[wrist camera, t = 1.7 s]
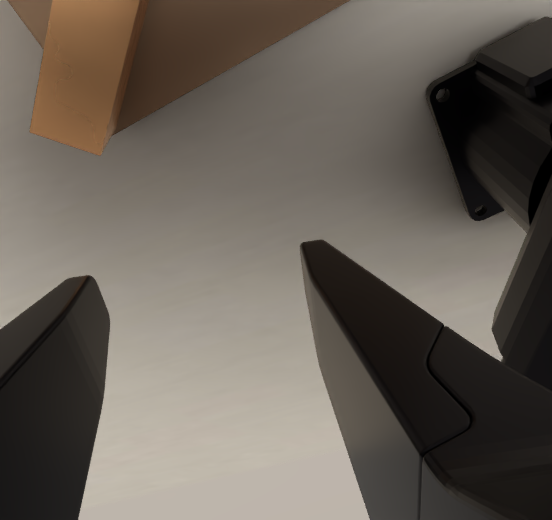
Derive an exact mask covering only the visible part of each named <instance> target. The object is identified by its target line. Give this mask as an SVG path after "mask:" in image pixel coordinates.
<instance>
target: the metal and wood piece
mask: <svg viewBox="0 0 552 520" xmlns="http://www.w3.org/2000/svg"><path fill="white" fill-rule="evenodd" d="M148 3H149V0H52V6H51V11H50V17H49V23H48V29H47V34H46V40H45V46H44V52H43V57H42V63H41V69H40V74H39V80H38V86H37V92H36V97H35V103H34V109H33V115H32V120H31V126H30V133H33V134H36V135H39V136H42V137H45V138H48V139H51V140H54V141H57V142H60V143H63V144H66V145H69V146H72V147H75V148H78V149H81V150H84V151H87V152H90V153H93V154H96V155H99V156H101V154H102V152H103V150H104V148H105V147H106V145H107V143H108V141H109V139H110V137H111V136H112V134H113V132H114V130H115V128H116V126H117V122H118V118H119V114H120V110H121V106H122V102H123V99H124V95H125V91H126V87H127V83H128V79H129V76H130V72H131V68H132V64H133V60H134V56H135V53H136V49H137V45H138V41H139V37H140V33H141V29H142V26H143V22H144V18H145V14H146V10H147V6H148Z"/></svg>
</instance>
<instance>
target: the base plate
mask: <svg viewBox="0 0 552 520" xmlns="http://www.w3.org/2000/svg"><path fill="white" fill-rule="evenodd" d="M7 1H8V2H9V3H10V5H11V6H12V7H13V9H14V10H15V11H16V13H17V14H18V15H19V17H20V18H21V20H22V21H23V22H24V24H25V25H26V26H27V28H28V29H29V30H30V32H31V33H32V35H33V36H34V37H35V39H36V40H37V41H38V43H39V44H40V45H41V47H42V48H43V49H44V46H45V40H46V34H47V29H48V23H49V17H50V11H51V6H52V0H7ZM348 1H349V0H149V3H148V6H147V10H146V14H145V18H144V22H143V26H142V29H141V33H140V37H139V41H138V45H137V49H136V53H135V56H134V60H133V64H132V68H131V72H130V76H129V79H128V83H127V87H126V91H125V95H124V99H123V102H122V106H121V110H120V114H119V118H118V122H117V126H116V128H115V130H114V132H113V134H112V135H114V134H116V133H118V132H119V131H121V130H123V129H125V128H126V127H128V126H130V125H132V124H133V123H135V122H137V121H139V120H141V119H142V118H144V117H146V116H148V115H149V114H151V113H153V112H155V111H156V110H158V109H160V108H162V107H163V106H165V105H167V104H169V103H170V102H172V101H174V100H176V99H177V98H179V97H181V96H183V95H184V94H186V93H188V92H190V91H191V90H193V89H195V88H197V87H198V86H200V85H202V84H204V83H205V82H207V81H209V80H211V79H213V78H214V77H216V76H218V75H220V74H221V73H223V72H225V71H227V70H228V69H230V68H232V67H234V66H235V65H237V64H239V63H241V62H242V61H244V60H246V59H248V58H249V57H251V56H253V55H255V54H256V53H258V52H260V51H262V50H263V49H265V48H267V47H269V46H270V45H272V44H274V43H276V42H277V41H279V40H281V39H283V38H285V37H286V36H288V35H290V34H292V33H293V32H295V31H297V30H299V29H300V28H302V27H304V26H306V25H307V24H309V23H311V22H313V21H314V20H316V19H318V18H320V17H321V16H323V15H325V14H327V13H328V12H330V11H332V10H334V9H335V8H337V7H339V6H341V5H342V4H344V3H346V2H348Z"/></svg>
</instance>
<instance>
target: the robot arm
mask: <svg viewBox="0 0 552 520" xmlns="http://www.w3.org/2000/svg"><path fill="white" fill-rule="evenodd" d="M444 88H445V89H446V94H445V96H444V97H443V98H442V99H438V100H437V99H436V95H437V93H438V91H439V90H441V89H444ZM426 97H427V101H428V104H429V107H430V110H431V113H432V115H433V118H434V121H435V124H436V127H437V130H438V133H439V135H440V138H441V141H442V144H443V147H444V150H445V153H446V155H447V158H448V161H449V164H450V167H451V170H452V173H453V175H454V178H455V181H456V184H457V187H458V190H459V193H460V195H461V198H462V201H463V204H464V207H465V210H466V212H467V214H468V215H469V216H470V217H471V218H472V219H473V220H475V221H481V220H484V219H486V218H489V217H491V216H493V215H495V214H497V213H500V212H502V211H504V210H505V211H506V212H507V213H508V214H509V215H510V216H511V217H512V218H513V219H514V220H515V221H516V222H517V223H518V224H519V225H520V226H521V227H522V228H523V229H524V230H525V231H526V232H527V235H526V238H525V240H524V242H523V245H522V247H521V250H520V252H519V254H518V257H517V259H516V262H515V264H514V266H513V269H512V271H511V274H510V276H509V278H508V281H507V283H506V286H505V288H504V291H503V293H502V295H501V298H500V300H499V303H498V305H497V307H496V310H495V313H494V319H493V325H492V332H493V334H494V337H495V340H496V342H497V345H498V348H499V351H500V353H501V354H502V356H503V358H502V360H501V362H500V361H499V360H497V359H495V358H494V357H492V356H490V355H489V354H487V353H486V352H484V351H483V350H481V349H480V348H478V347H477V346H475V345H474V344H472V343H471V342H469V341H467V340H466V339H464V338H463V337H462V336H460V335H459V334H457V333H456V332H454V331H453V330H452V329H450V328H449V327H447V326H445V327H444V325H443V323H441V322H440V321H438V320H437V319H436V318H434V317H433V316H431V315H430V314H428V313H427V312H426V311H424V310H423V309H421V308H420V307H418V306H417V305H416V304H414V303H413V302H411V301H410V300H409V299H407V298H406V297H404V296H403V295H401V294H400V293H399V292H397V291H396V290H394V289H393V288H391V287H390V286H389V285H387V284H386V283H384V282H383V281H381V280H380V279H379V278H377V277H376V276H374V275H373V274H371V273H370V272H369V271H367V270H366V269H364V268H363V267H362V266H360V265H359V264H357V263H356V262H354V261H353V260H352V259H350V258H349V257H347V256H346V255H344V254H343V253H342V252H340V251H339V250H337V249H336V248H334V247H333V246H332V245H330V244H329V243H327V242H326V241H324V240H314V241H308V242H303V243H301V245H300V254H301V263H302V271H303V279H304V286H305V293H306V298H307V304H308V309H309V314H310V320H311V325H312V331H313V336H314V341H315V347H316V352H317V357H318V362H319V366H320V369H321V373H322V376H323V379H324V382H325V385H326V388H327V391H328V394H329V397H330V400H331V403H332V406H333V409H334V412H335V415H336V418H337V421H338V424H339V427H340V431H341V434H342V437H343V440H344V443H345V446H346V449H347V451H348V455H349V458H350V461H351V464H352V466H353V470H354V473H355V475H356V479H357V482H358V485H359V488H360V491H361V494H362V497H363V500H364V503H365V506H366V509H367V512H368V515H369V518H370V520H552V18H550V17H543V18H541V19H539V20H537V21H536V22H534V23H532V24H530V25H528V26H526V27H524V28H522V29H520V30H518V31H516V32H514V33H513V34H511V35H509V36H507V37H505V38H503V39H501V40H499V41H497V42H495V43H493V44H491V45H490V46H488V47H486V48H484V49H482V50H480V51H479V53H478V54H477V56H476V58H475V60H474V61H472V62H470V63H468V64H466V65H465V66H463V67H461V68H459V69H457V70H455V71H453V72H451V73H449V74H447V75H445V76H443V77H441V78H439V79H438V80H436V81H434V82H433V83H432V84H430V86H429V87H428V89H427V93H426ZM481 205H483V207H482V209H481V210H479V211H477V212H475V210H476V208H477V207H478V206H481ZM109 332H110V317H109V313H108V310H107V307H106V305H105V302H104V300H103V297H102V295H101V292H100V290H99V287H98V284H97V282H96V280H95V279H94V278H93V277H92V276H90V275H86V276H79V277H73V278H69V279H66V280H65V281H64V282H62V283H61V284H60V285H58V286H57V287H56V288H54V289H53V290H52V291H50V292H49V293H48V294H46V295H45V296H44V297H43V298H41V299H40V300H39V301H37V302H36V303H35V304H33V305H32V306H31V307H29V308H28V309H27V310H25V311H24V312H23V313H21V314H20V315H19V316H17V317H16V318H15V319H14V320H12V321H11V322H10V323H8V324H7V325H6V326H4V327H3V328H2V329H0V520H78V517H79V513H80V508H81V503H82V499H83V494H84V489H85V485H86V480H87V475H88V471H89V466H90V461H91V457H92V452H93V447H94V442H95V438H96V433H97V428H98V424H99V419H100V414H101V409H102V404H103V398H104V389H105V379H106V367H107V355H108V343H109Z"/></svg>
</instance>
